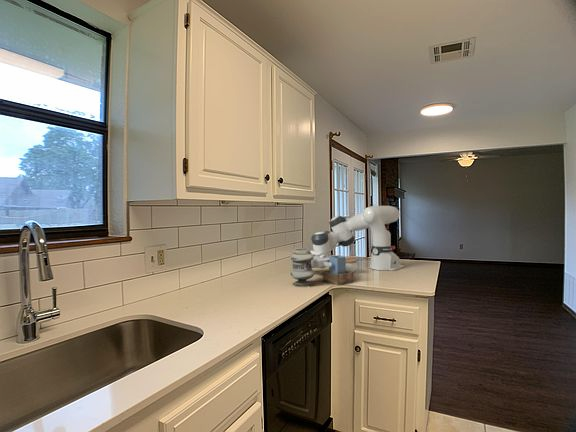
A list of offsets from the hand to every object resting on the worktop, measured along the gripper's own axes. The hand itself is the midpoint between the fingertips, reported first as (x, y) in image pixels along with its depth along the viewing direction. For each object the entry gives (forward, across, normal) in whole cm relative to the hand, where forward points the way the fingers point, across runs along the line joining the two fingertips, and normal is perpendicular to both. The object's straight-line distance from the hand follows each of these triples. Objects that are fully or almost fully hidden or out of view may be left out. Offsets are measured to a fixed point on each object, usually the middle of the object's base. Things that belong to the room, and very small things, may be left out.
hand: (338, 263), depth 170 cm
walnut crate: (-1, 0, -10) cm, 10 cm away
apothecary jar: (-8, +18, -10) cm, 22 cm away
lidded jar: (-13, -20, -10) cm, 26 cm away
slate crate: (-1, 0, -9) cm, 9 cm away
